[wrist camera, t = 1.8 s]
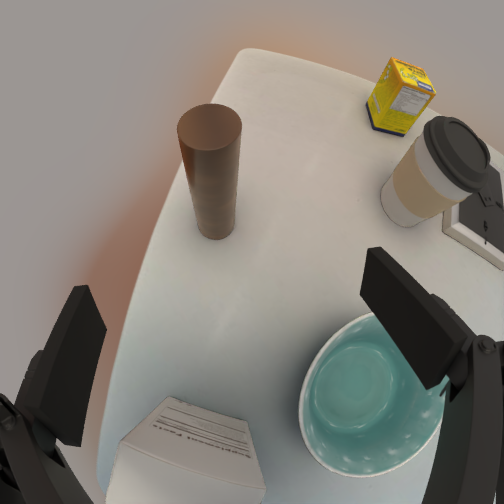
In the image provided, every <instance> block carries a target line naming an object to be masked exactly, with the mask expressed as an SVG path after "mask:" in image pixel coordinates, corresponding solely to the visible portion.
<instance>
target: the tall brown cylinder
mask: <svg viewBox="0 0 504 504" xmlns="http://www.w3.org/2000/svg"><path fill="white" fill-rule="evenodd" d="M241 132H242V122H241V119H240V117H239V116H238V114H237V113H236V112H235V111H234V110H232V109H231V108H229V107H226V106H224V105H220V104H204V105H199V106H196V107H194V108H192V109H190V110H189V111H187V112H186V113H185V114H184V115H183V116H182V117H181V118H180V120H179V122H178V125H177V133H178V138H179V143H180V148H181V153H182V157H183V162H184V167H185V171H186V176H187V180H188V184H189V189H190V193H191V197H192V202H193V206H194V210H195V214H196V218H197V223H198V227H199V230H200V231H201V233H202V234H203V235H204V236H205V237H207V238H209V239H214V240H218V239H222V238H225V237H227V236H228V235H229V234H230V233H231V232H232V230H233V228H234V222H235V208H236V195H237V181H238V168H239V156H240V144H241Z"/></svg>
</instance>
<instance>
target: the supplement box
mask: <svg viewBox="0 0 504 504" xmlns="http://www.w3.org/2000/svg"><path fill="white" fill-rule="evenodd" d="M435 95H436V92H435V90H434V88H433V86H432V84H431V82H430V81H429V79H428V77H427V75H426V73H425V71H424V70H423V69H422V68H419V67H417V66H414V65H411V64H409V63H406V62H404V61H401V60H398V59H395V58H392V57H391V58H390V60H389V62H388V64H387V66H386V68H385V69H384V72H383V73H382V75H381V77H380V79H379V81H378V82H377V84H376V86H375V88H374V90H373V92H372V94H371V96H370V97H369V99H368V101H367V103H366V107H367V110H368V114H369V117H370V121H371V124H372V128H373V129H374V130H378V131H383V132H387V133H391V134H395V135H399V136H404V135H405V134H406V133H407V131H408V130H409V129H410V128H411V126H412V125H413V124H414V123H415V121H416V120H417V118H418V117H419V116H420V115H421V113H422V112H423V111H424V109H425V108H426V107H427V105H428V104H429V103H430V101H431V100H432V99H433V97H434V96H435Z"/></svg>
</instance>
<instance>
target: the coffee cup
mask: <svg viewBox="0 0 504 504" xmlns="http://www.w3.org/2000/svg"><path fill="white" fill-rule="evenodd" d="M489 163H490V153H489V150H488V148H487V146H486V144H485V143H484V142H483V141H482V140H481V139H480V138H478V137H477V135H476V134H475V133H474V132H473V131H472V130H471V129H470V128H469V127H468V126H467V125H466V124H465V123H463V122H462V121H460V120H459V119H456V118H453V117H445V116H436V117H434V118H433V119H432V120H430V121H428V122H427V123H426V124H425V126H424V130H423V132H422V134H421V135H420V136H419V137H417V138H416V140H415V141H414V143H413V144H412V145H411V147H410V148H409V150H408V151H407V153H406V154H405V155H404V157H403V158H402V160H401V161H400V163H399V164H398V165H397V167H396V168H395V170H394V173H393V174H392V175H391V177H390V178H389V179H388V181H387V182H386V183H385V185H384V186H383V188H382V190H381V203H382V206H383V208H384V211H385V212H386V214H387V215H388V217H389V218H390V219H391V220H392V221H393V222H395V223H396V224H398V225H400V226H402V227H412V226H414V225H416V224H418V223H420V222H421V221H423V220H425V219H427V218H431V217H433V216H435V215H437V214H439V213H441V212H443V211H445V210H447V209H449V208H450V207H452V206H454V205H456V204H458V203H460V202H461V201H463V200H465V199H466V198H467V196H469V195H471V194H473V193H478V192H480V191H481V190H482V188H484V187H485V186H486V184H487V182H488V168H489Z"/></svg>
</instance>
